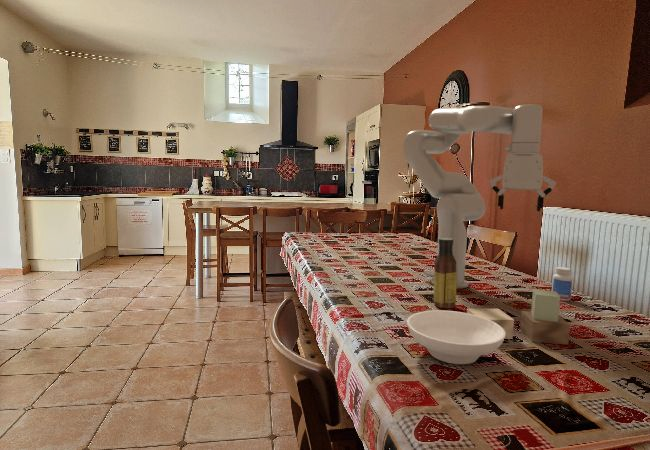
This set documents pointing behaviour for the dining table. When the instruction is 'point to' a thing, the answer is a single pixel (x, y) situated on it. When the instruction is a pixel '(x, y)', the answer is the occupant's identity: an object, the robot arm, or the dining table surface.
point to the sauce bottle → (445, 275)
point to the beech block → (495, 318)
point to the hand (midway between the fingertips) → (519, 210)
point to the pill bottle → (562, 283)
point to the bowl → (455, 335)
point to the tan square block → (544, 329)
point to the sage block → (545, 305)
